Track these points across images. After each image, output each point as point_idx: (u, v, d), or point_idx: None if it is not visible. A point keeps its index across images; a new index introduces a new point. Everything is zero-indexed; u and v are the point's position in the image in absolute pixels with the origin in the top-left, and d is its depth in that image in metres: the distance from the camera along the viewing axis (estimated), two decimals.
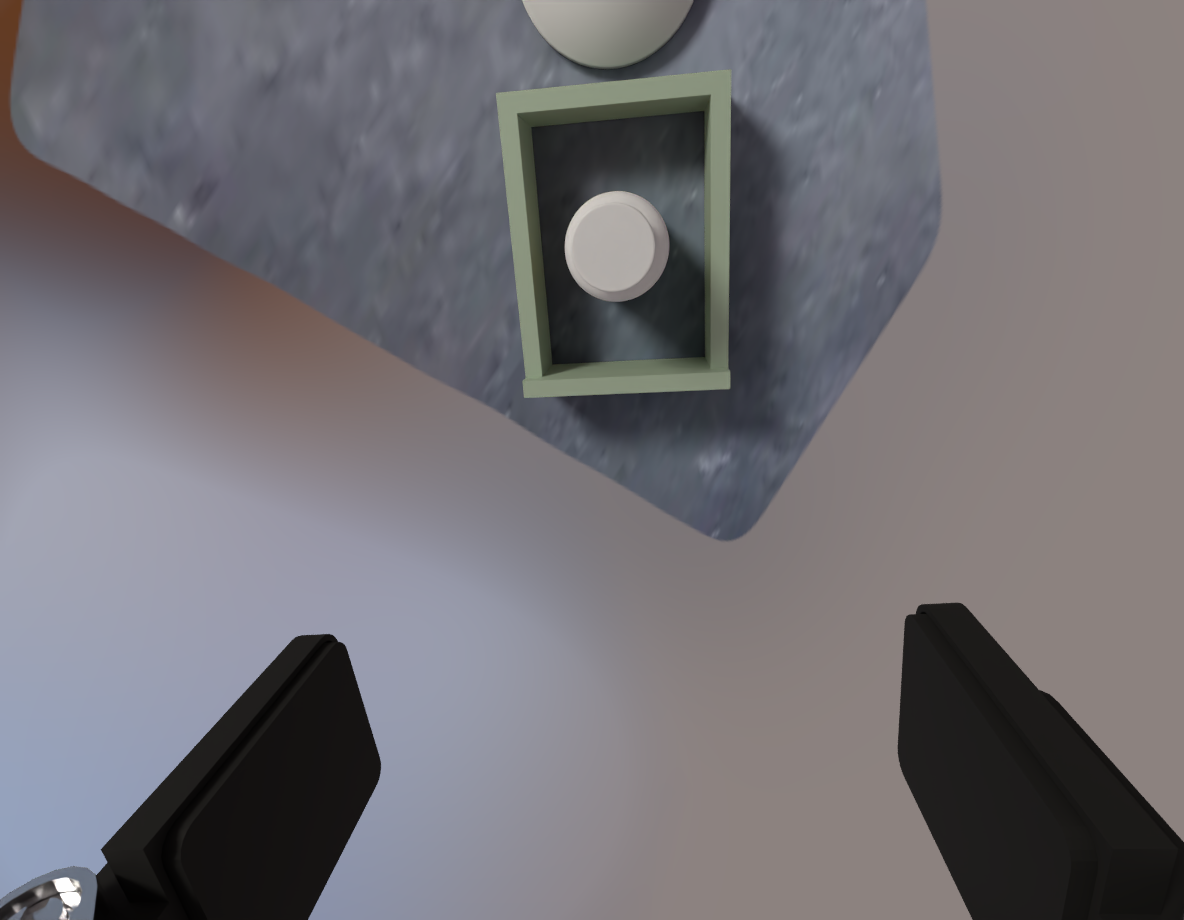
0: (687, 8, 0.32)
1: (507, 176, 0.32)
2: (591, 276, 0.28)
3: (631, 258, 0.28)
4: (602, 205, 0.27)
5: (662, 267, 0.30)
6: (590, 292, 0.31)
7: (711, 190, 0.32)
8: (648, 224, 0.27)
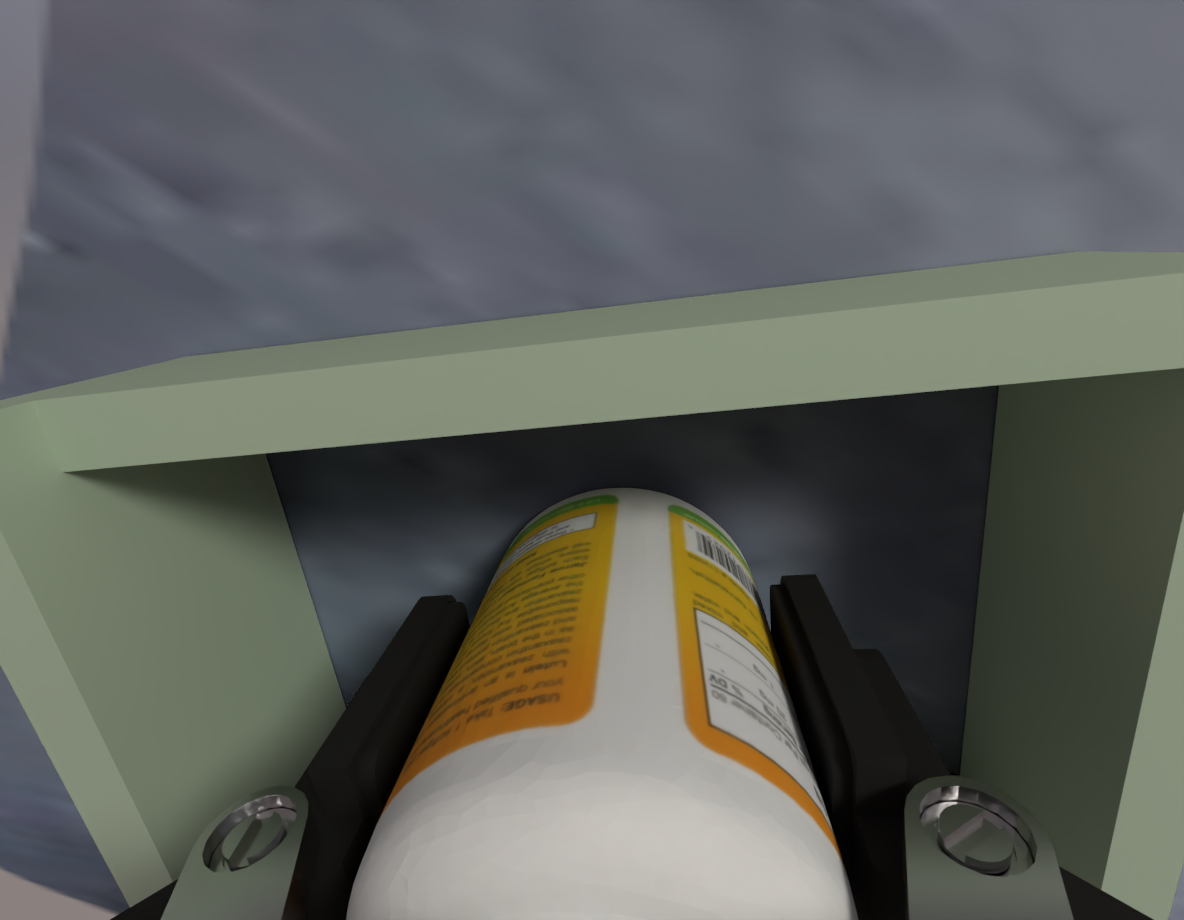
0: None
1: (927, 313, 0.06)
2: None
3: None
4: None
5: None
6: (360, 901, 0.06)
7: None
8: None
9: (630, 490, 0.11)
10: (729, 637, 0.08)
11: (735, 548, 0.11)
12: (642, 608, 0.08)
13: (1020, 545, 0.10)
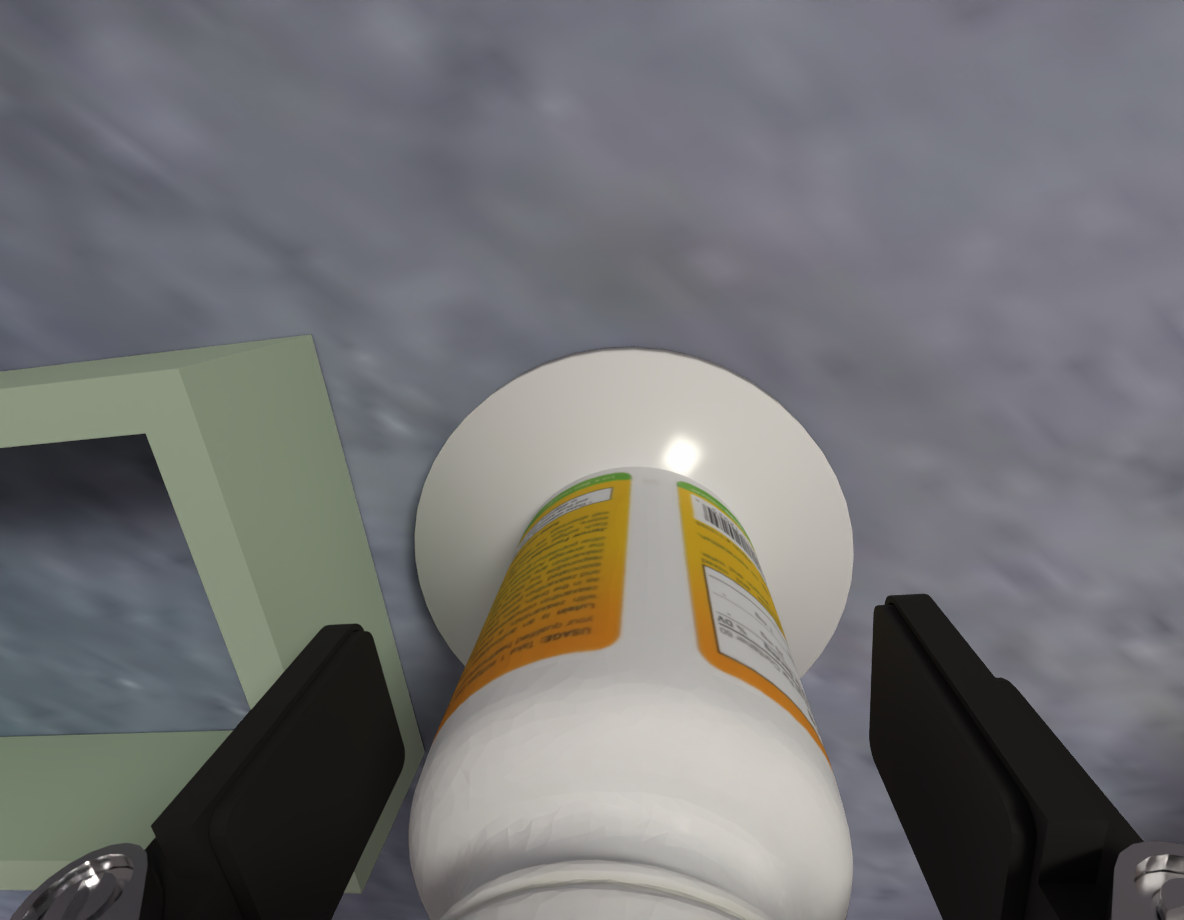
0: None
1: None
2: None
3: None
4: None
5: None
6: (425, 797, 0.07)
7: None
8: None
9: (641, 469, 0.12)
10: (734, 589, 0.09)
11: (737, 521, 0.12)
12: (658, 563, 0.09)
13: None
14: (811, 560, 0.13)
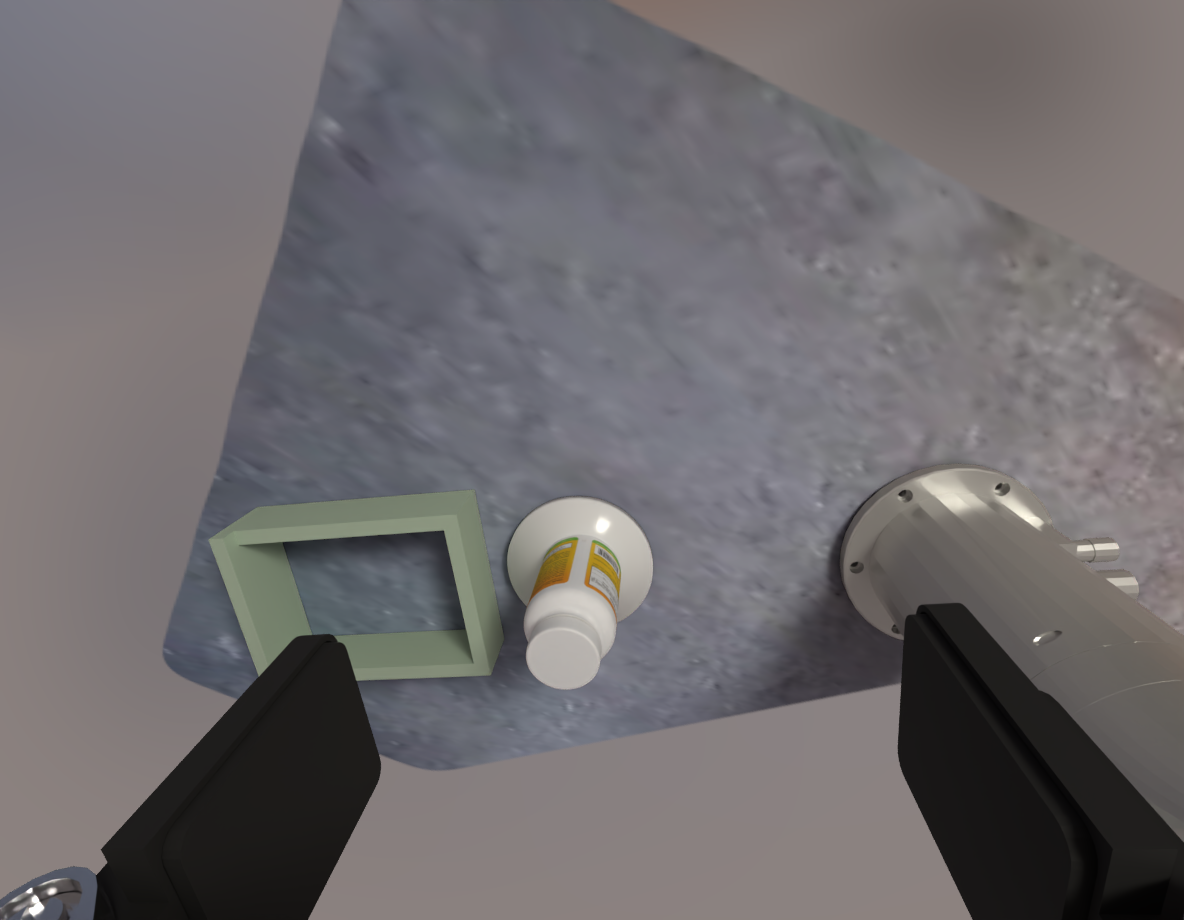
0: None
1: (395, 520, 0.37)
2: (537, 644, 0.31)
3: (555, 673, 0.32)
4: (596, 652, 0.31)
5: None
6: (529, 612, 0.34)
7: (411, 666, 0.41)
8: (583, 684, 0.32)
9: (582, 535, 0.39)
10: (599, 571, 0.36)
11: (612, 552, 0.39)
12: (579, 565, 0.36)
13: None
14: (639, 564, 0.40)
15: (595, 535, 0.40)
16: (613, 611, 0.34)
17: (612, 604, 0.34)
